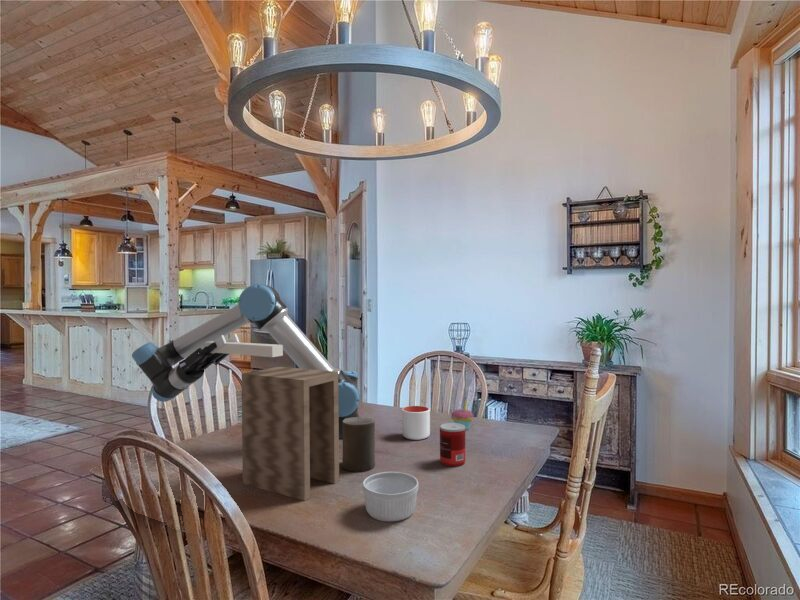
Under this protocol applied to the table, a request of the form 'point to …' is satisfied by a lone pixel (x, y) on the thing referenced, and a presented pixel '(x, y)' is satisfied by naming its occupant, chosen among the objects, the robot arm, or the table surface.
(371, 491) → the ramekin
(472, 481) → the table surface
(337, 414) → the stand
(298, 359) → the robot arm
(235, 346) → the bar
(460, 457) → the canned food
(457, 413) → the cupcake
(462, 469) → the table surface
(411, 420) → the cup
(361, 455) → the pillar candle
